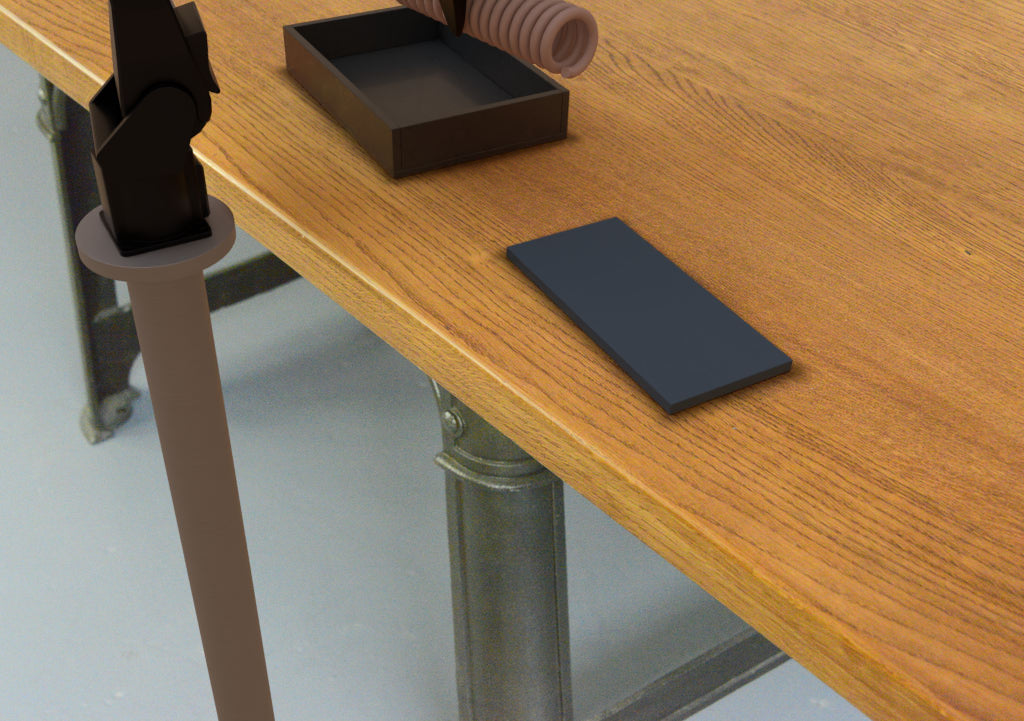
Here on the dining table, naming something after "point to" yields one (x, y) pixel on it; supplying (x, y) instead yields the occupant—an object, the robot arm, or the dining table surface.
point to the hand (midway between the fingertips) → (489, 28)
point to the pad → (648, 314)
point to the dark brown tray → (423, 89)
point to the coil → (528, 30)
